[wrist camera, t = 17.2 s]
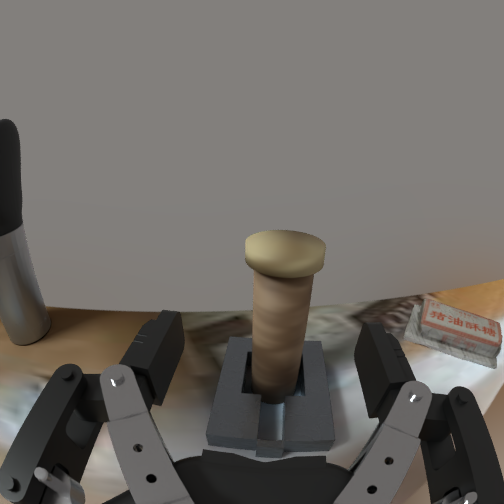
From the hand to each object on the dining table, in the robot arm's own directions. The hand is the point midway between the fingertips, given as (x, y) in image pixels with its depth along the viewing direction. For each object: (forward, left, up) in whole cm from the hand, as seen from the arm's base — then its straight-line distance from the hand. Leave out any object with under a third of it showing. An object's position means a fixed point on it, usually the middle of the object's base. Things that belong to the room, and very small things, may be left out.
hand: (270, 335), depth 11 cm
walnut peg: (+1, +11, -17) cm, 21 cm away
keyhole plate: (+1, +10, -17) cm, 20 cm away
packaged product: (+31, +19, -18) cm, 40 cm away
